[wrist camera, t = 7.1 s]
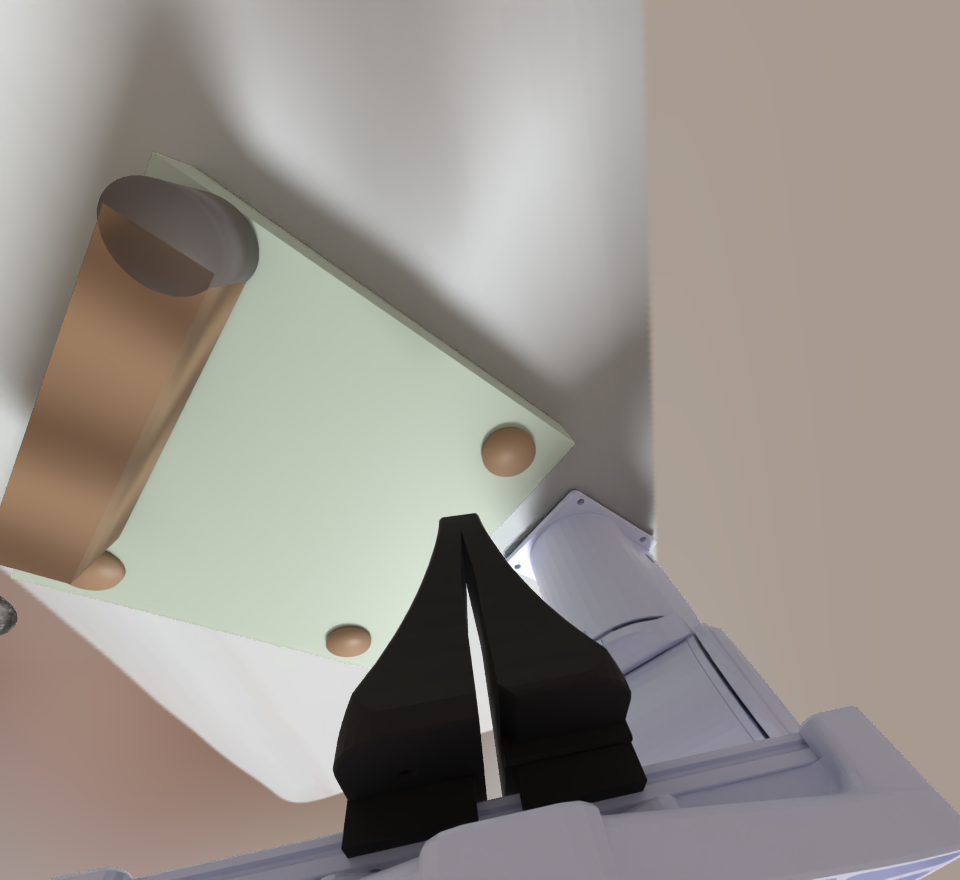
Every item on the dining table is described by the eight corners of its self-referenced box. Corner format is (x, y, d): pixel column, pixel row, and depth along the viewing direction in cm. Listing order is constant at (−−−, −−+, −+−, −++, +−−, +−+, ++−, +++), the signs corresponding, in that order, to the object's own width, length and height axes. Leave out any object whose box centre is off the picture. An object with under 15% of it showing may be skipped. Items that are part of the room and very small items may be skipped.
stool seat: (560, 424, 23) (577, 446, 20) (373, 638, 29) (369, 673, 27) (192, 165, 14) (146, 149, 12) (53, 543, 21) (5, 582, 19)
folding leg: (181, 167, 12) (117, 146, 10) (273, 234, 14) (239, 230, 11) (44, 512, 18) (-22, 559, 15) (121, 538, 19) (73, 585, 16)
